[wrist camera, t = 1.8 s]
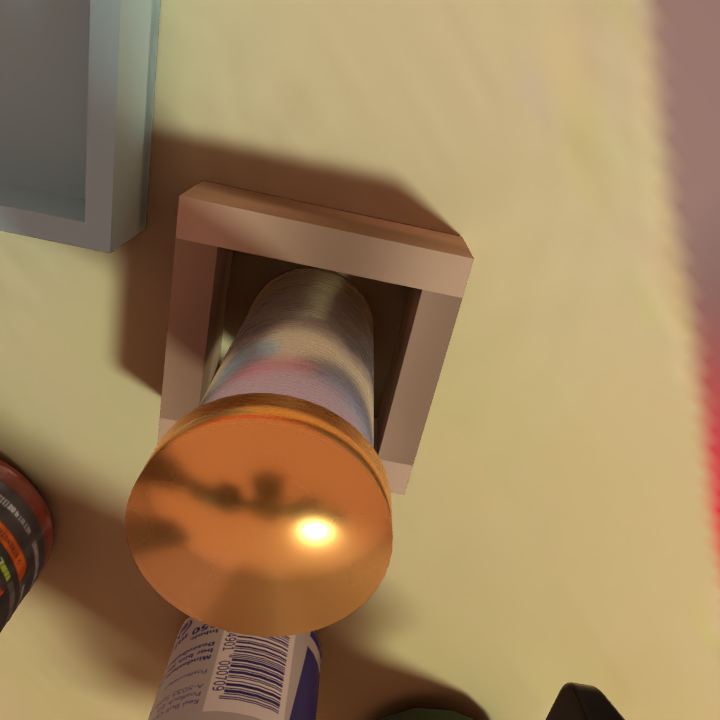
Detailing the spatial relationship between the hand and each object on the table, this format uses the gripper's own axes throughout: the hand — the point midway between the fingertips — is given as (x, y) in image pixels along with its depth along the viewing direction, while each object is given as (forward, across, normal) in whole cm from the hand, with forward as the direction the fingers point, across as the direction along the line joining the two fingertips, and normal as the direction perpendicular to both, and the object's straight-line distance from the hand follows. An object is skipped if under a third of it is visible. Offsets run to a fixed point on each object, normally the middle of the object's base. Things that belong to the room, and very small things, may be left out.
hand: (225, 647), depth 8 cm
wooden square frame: (+11, 0, 0) cm, 11 cm away
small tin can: (+11, 0, 0) cm, 11 cm away
